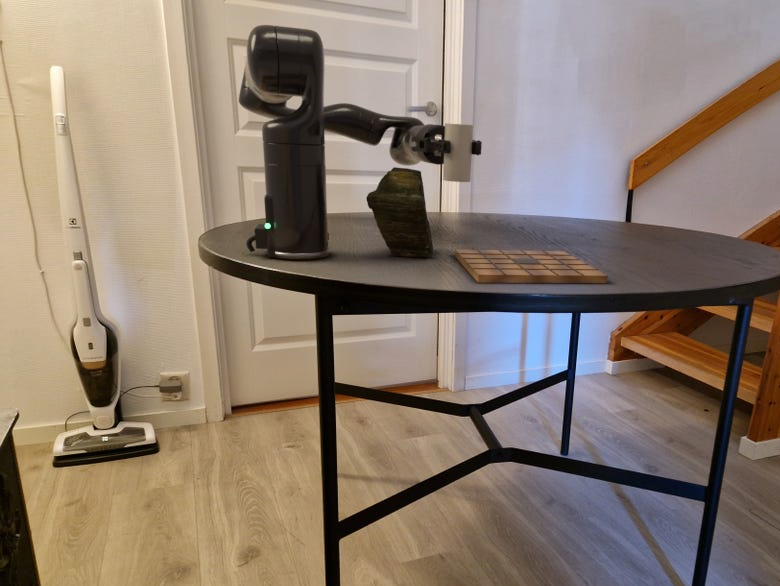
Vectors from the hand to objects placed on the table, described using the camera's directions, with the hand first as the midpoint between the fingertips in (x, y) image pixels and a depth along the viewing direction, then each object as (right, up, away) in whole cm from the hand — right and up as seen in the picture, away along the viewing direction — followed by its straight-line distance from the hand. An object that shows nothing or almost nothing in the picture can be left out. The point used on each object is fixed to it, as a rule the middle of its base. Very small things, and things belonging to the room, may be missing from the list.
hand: (463, 147), depth 112 cm
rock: (-10, -21, -6) cm, 24 cm away
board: (+10, -24, -12) cm, 29 cm away
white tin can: (-1, -5, +4) cm, 7 cm away
